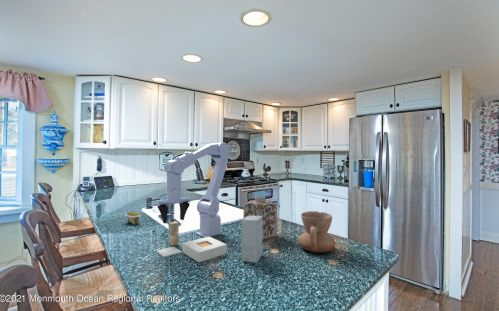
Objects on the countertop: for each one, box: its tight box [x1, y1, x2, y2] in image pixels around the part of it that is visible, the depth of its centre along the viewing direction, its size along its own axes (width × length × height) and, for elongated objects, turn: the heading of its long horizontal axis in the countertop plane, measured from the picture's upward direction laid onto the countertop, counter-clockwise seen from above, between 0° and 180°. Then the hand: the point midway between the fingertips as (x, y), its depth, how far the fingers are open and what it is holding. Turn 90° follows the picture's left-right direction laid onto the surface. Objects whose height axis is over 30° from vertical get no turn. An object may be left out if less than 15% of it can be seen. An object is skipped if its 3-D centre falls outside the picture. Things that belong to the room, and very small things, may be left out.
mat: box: [155, 245, 183, 258], centre depth 94 cm, size 7×7×1 cm
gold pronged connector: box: [124, 210, 142, 225], centre depth 132 cm, size 12×18×7 cm, turn 67°
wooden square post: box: [167, 220, 180, 247], centre depth 102 cm, size 3×3×9 cm
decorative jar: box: [242, 196, 278, 241], centre depth 116 cm, size 12×12×18 cm
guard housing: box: [181, 236, 227, 263], centre depth 94 cm, size 12×12×4 cm
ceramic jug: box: [297, 210, 336, 254], centre depth 99 cm, size 18×14×14 cm
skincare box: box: [241, 215, 263, 264], centre depth 90 cm, size 8×6×15 cm
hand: (173, 221), depth 102 cm, fingers open, 7 cm apart
